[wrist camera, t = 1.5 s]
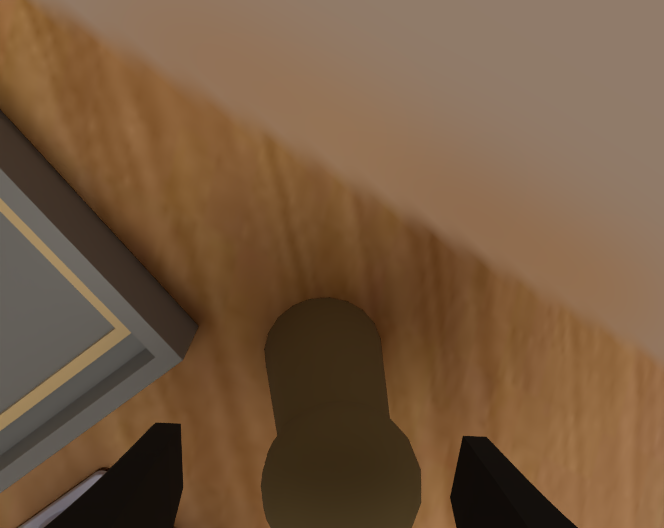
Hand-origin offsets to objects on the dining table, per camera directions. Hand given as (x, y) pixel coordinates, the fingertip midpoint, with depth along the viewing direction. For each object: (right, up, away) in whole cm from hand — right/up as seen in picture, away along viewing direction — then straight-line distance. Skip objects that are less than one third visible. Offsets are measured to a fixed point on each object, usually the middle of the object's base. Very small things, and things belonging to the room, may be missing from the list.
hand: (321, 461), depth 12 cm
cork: (0, +1, +12) cm, 12 cm away
